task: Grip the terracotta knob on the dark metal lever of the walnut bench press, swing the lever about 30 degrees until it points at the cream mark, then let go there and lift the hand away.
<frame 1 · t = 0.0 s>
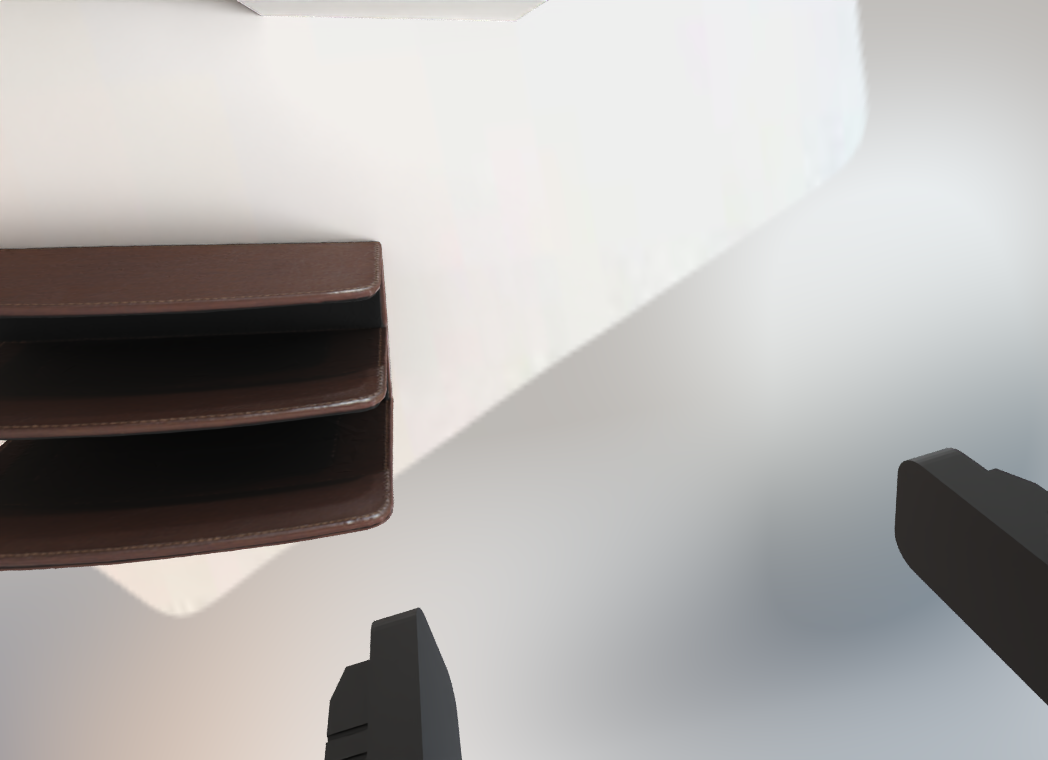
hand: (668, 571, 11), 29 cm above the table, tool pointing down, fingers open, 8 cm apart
letter holder: (208, 328, 38), on the table
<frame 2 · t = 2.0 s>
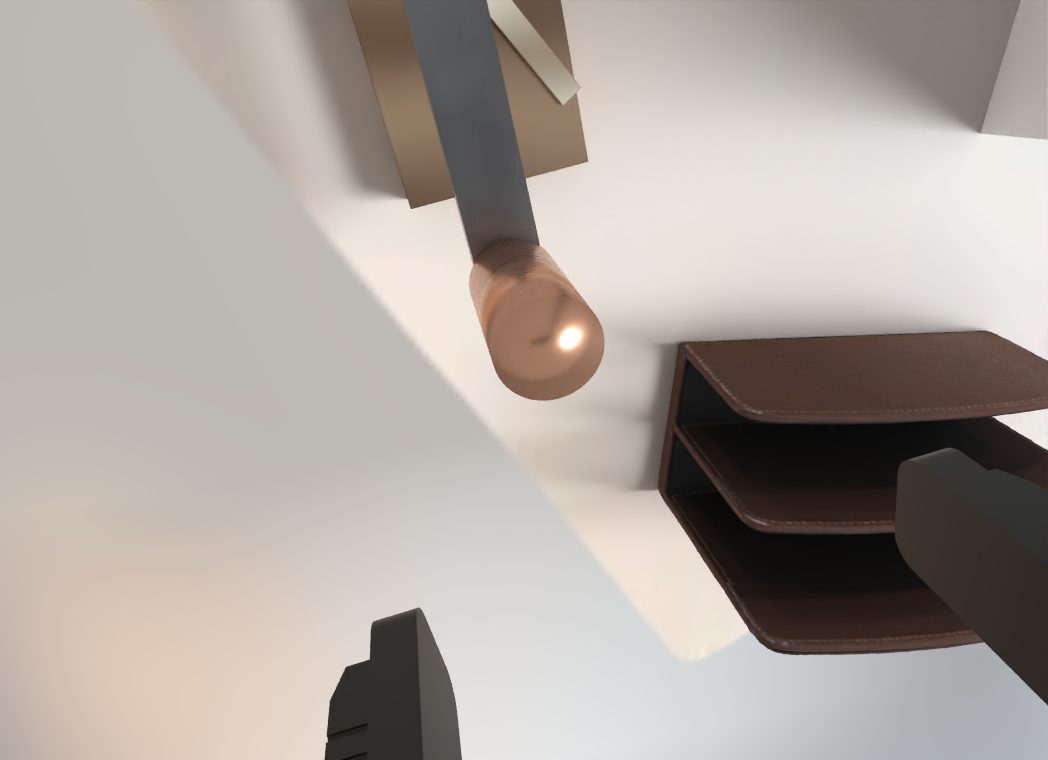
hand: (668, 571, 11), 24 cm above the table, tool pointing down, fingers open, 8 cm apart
lever: (473, 87, 19), point 11 cm above the table, hinge at 0.0°
letter holder: (817, 408, 41), on the table
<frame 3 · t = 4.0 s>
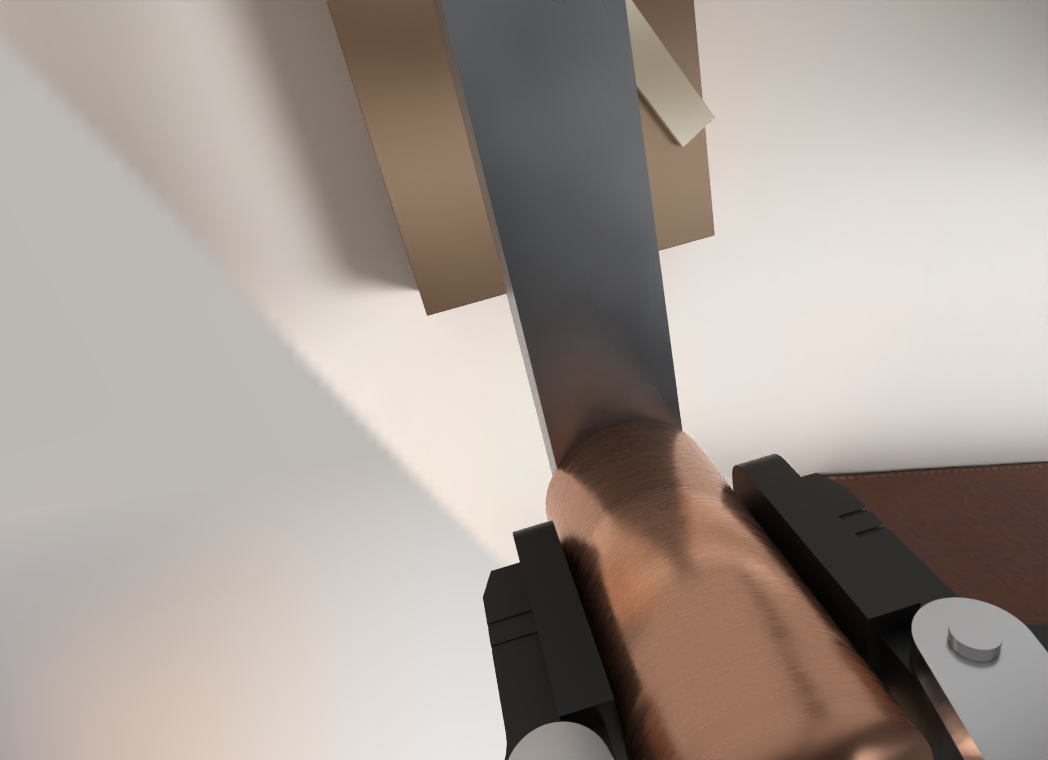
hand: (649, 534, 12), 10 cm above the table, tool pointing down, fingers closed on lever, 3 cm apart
lever: (604, 152, 8), point 11 cm above the table, hinge at 0.0°, touching gripper
letter holder: (982, 550, 29), on the table
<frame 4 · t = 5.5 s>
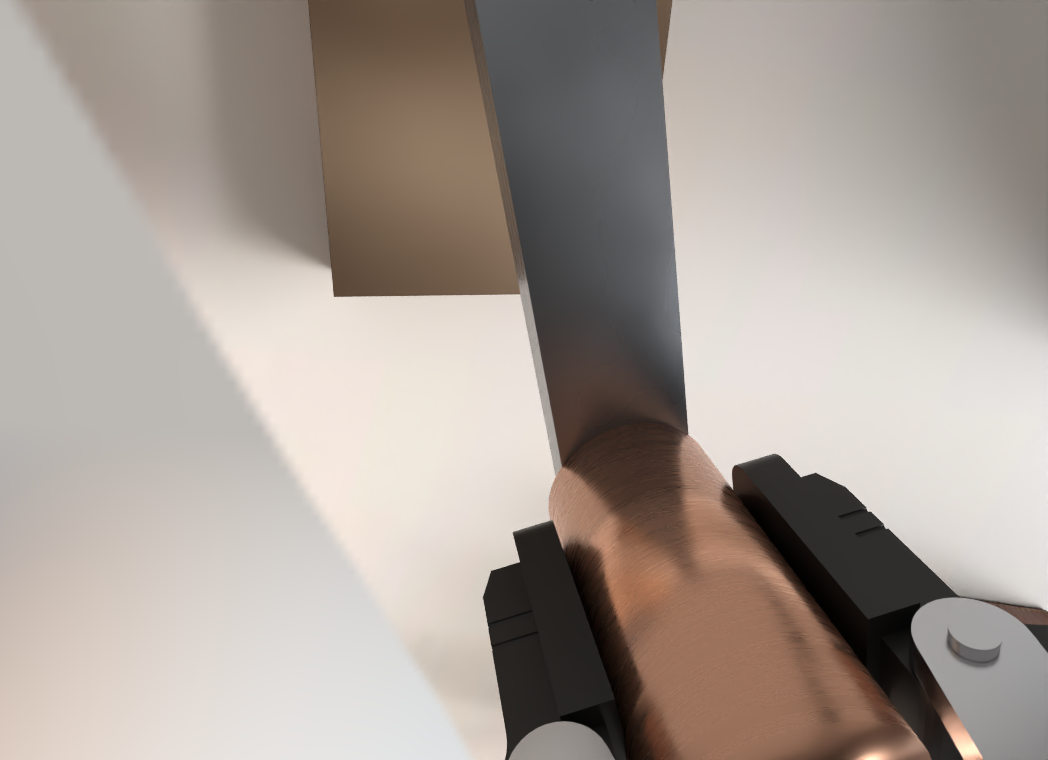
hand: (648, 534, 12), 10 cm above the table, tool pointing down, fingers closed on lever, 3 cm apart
lever: (632, 150, 8), point 11 cm above the table, hinge at 12.9°, touching gripper
letter holder: (820, 658, 31), on the table
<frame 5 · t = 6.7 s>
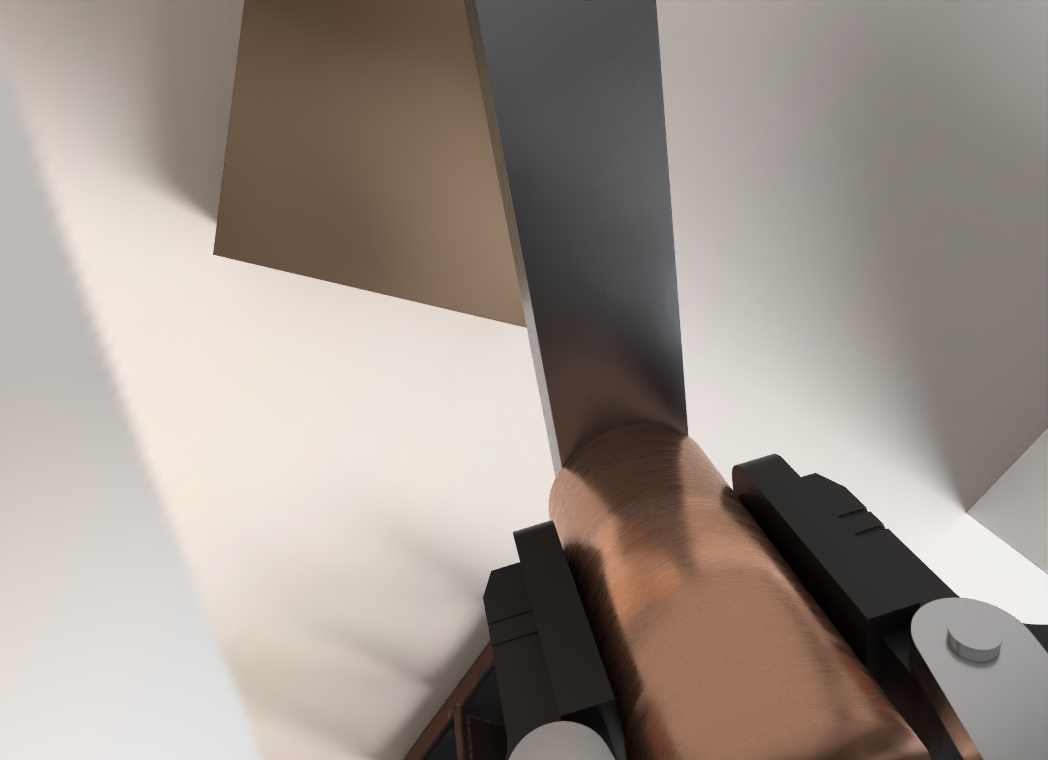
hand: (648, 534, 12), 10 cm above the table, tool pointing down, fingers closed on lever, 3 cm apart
lever: (632, 151, 8), point 11 cm above the table, hinge at 27.7°, touching gripper
letter holder: (639, 734, 31), on the table
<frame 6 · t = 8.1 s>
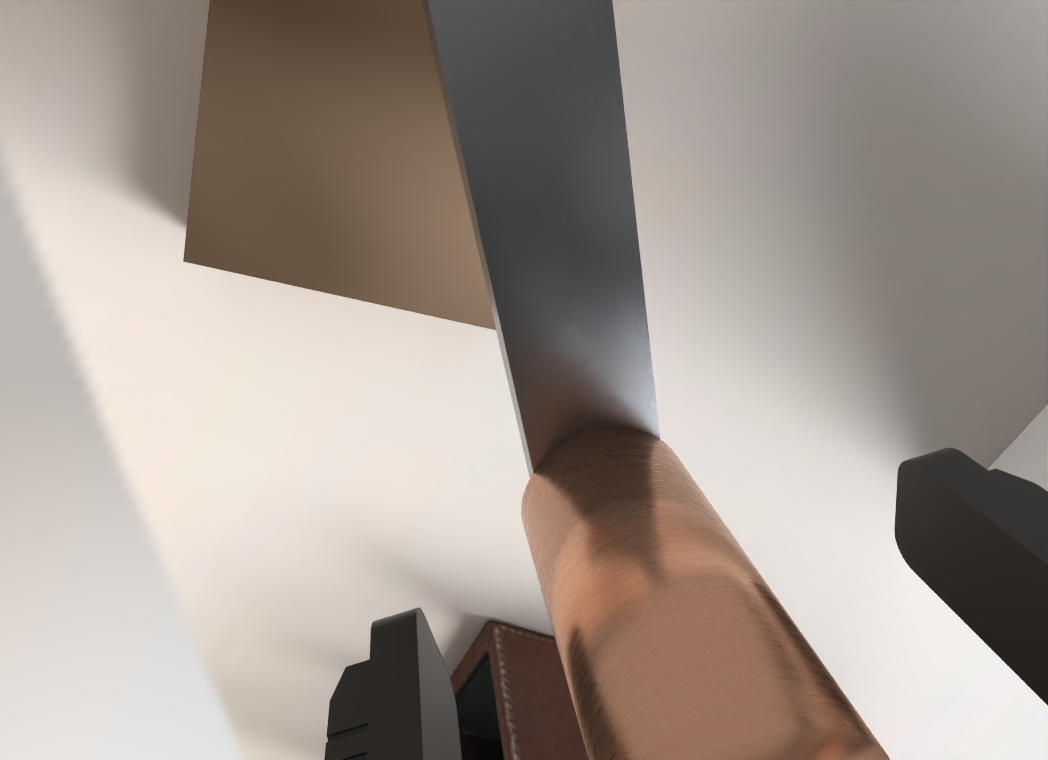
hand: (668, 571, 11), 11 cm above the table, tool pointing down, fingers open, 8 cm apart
lever: (584, 157, 8), point 11 cm above the table, hinge at 28.0°
letter holder: (624, 738, 31), on the table
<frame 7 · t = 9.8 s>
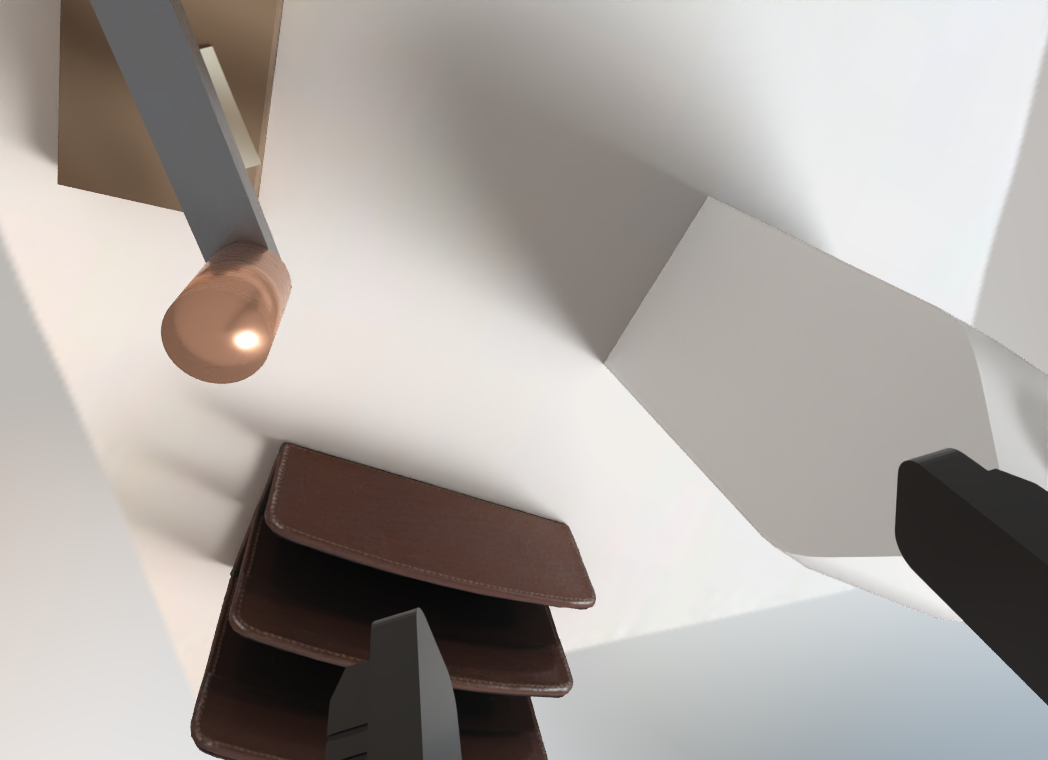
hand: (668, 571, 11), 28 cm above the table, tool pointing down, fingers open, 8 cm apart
lever: (154, 107, 21), point 11 cm above the table, hinge at 28.0°
letter holder: (408, 541, 45), on the table
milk: (726, 323, 42), on the table
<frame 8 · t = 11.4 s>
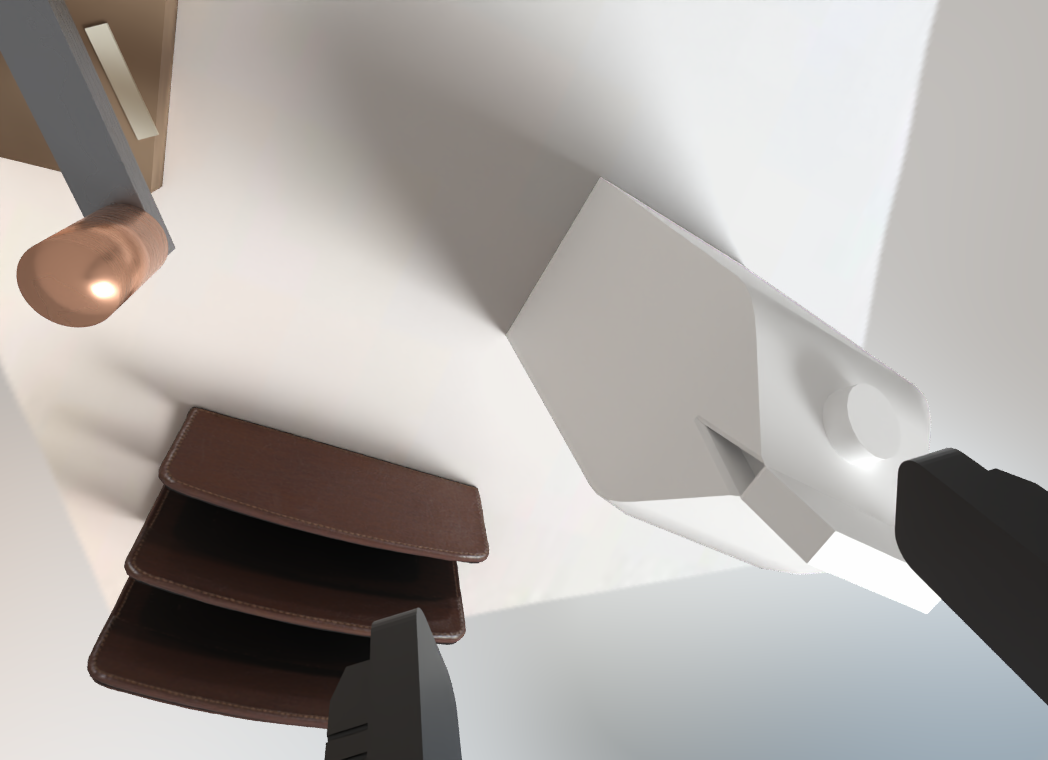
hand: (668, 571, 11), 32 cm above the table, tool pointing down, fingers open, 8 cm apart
lever: (18, 76, 24), point 11 cm above the table, hinge at 28.0°
letter holder: (323, 502, 47), on the table
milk: (625, 299, 44), on the table
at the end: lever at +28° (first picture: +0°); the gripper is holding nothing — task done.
